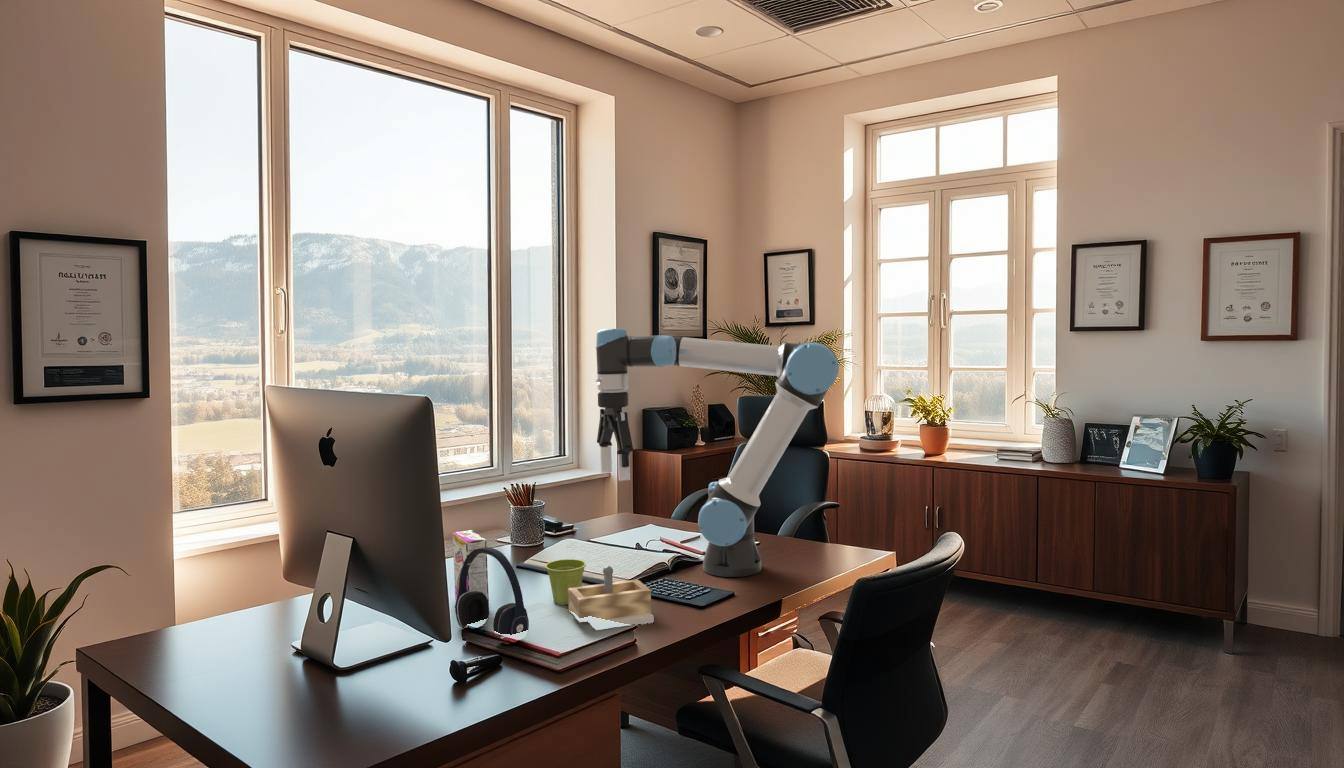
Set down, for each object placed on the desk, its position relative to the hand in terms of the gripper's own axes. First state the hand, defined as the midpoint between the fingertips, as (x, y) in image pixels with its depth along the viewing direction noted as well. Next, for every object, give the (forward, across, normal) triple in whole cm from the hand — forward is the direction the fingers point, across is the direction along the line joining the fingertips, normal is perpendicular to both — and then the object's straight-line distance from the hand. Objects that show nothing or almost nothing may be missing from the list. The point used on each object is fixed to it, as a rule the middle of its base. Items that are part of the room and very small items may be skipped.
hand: (615, 476), depth 218 cm
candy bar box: (+26, +4, -37) cm, 46 cm away
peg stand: (+26, +26, -10) cm, 39 cm away
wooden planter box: (+25, +26, -11) cm, 38 cm away
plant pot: (+27, +10, -16) cm, 33 cm away
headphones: (+27, +26, -37) cm, 52 cm away
